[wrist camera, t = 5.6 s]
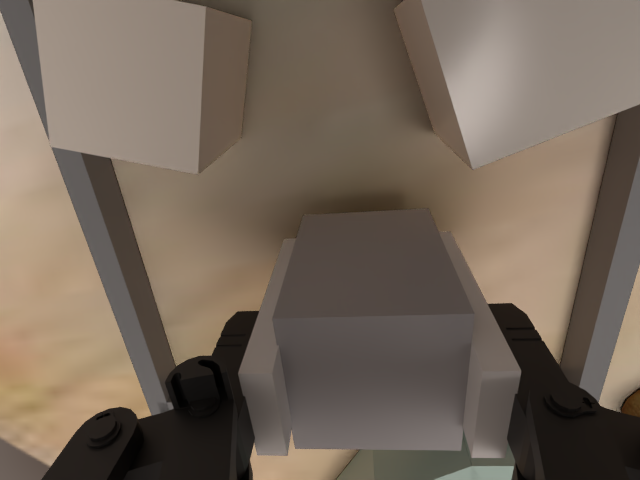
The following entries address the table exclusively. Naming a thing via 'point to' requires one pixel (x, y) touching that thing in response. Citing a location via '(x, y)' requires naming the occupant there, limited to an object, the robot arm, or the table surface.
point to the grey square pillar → (374, 334)
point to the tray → (141, 311)
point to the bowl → (427, 465)
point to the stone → (632, 405)
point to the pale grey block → (520, 68)
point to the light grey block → (143, 79)
